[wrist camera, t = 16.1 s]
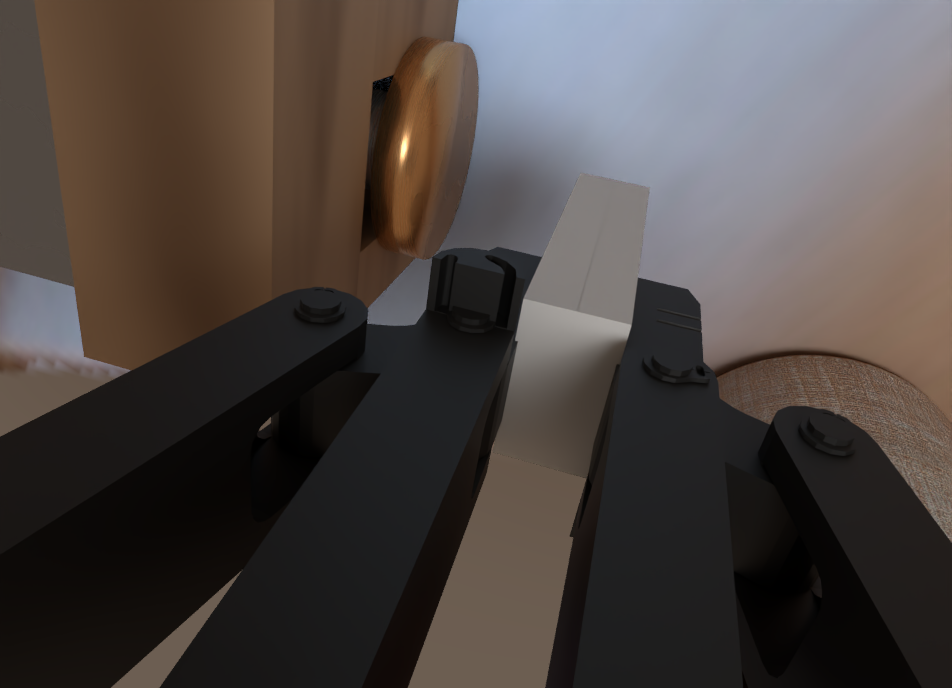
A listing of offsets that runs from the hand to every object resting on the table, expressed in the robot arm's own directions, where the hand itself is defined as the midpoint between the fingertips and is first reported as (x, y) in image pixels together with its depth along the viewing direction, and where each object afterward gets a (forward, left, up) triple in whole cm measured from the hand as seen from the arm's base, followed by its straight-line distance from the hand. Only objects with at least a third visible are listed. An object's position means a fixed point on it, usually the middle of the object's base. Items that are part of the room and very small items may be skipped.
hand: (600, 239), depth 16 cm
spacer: (0, -9, -9) cm, 13 cm away
